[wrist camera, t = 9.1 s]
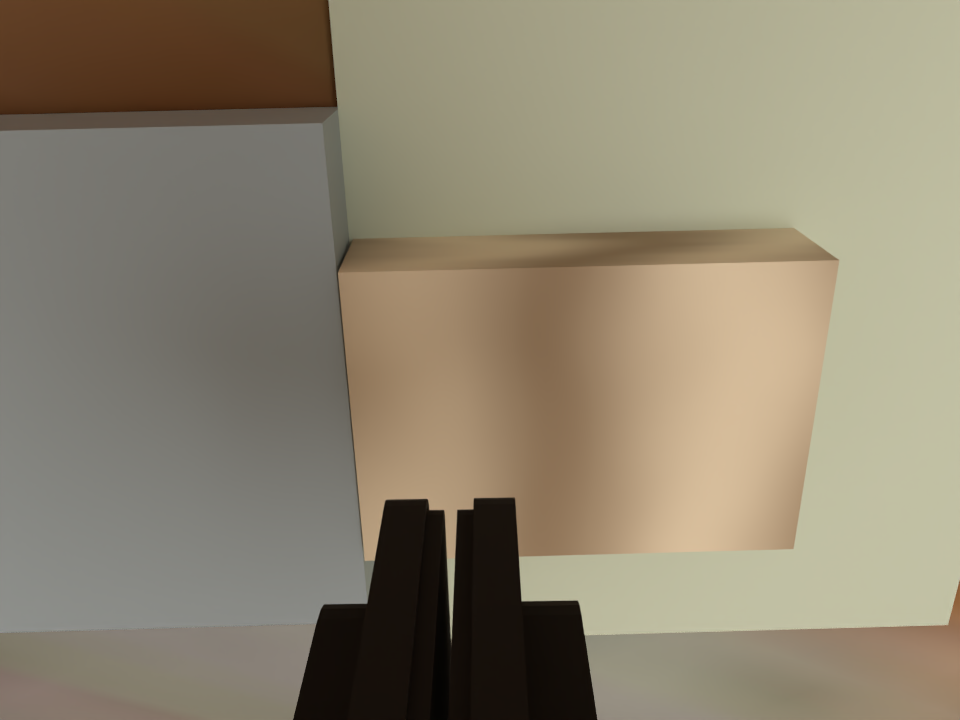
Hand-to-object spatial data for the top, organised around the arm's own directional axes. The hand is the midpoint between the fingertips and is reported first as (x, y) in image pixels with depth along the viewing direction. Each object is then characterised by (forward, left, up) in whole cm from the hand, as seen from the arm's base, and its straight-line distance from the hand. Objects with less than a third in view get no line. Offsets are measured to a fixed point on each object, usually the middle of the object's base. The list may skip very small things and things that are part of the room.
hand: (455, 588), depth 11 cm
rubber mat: (-6, +1, -10) cm, 12 cm away
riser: (+9, +1, -10) cm, 14 cm away
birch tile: (-3, +1, -10) cm, 10 cm away
